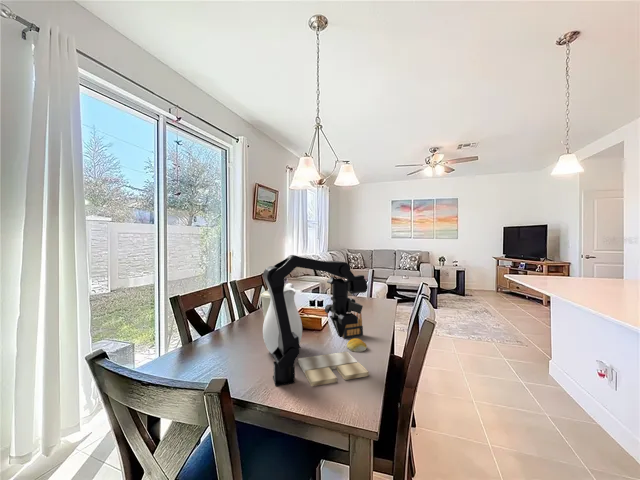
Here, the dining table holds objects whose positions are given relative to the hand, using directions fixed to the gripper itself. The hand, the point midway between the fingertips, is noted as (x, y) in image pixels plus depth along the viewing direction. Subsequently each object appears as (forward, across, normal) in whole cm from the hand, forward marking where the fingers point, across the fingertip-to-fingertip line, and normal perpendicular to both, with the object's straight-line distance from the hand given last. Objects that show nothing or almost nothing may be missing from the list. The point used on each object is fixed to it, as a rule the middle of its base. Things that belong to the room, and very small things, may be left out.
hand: (340, 336), depth 106 cm
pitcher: (+12, +26, +16) cm, 33 cm away
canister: (+12, +64, +14) cm, 67 cm away
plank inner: (+12, -5, +10) cm, 16 cm away
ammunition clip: (+12, +29, -18) cm, 36 cm away
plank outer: (+12, -5, -2) cm, 13 cm away
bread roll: (+12, +15, -14) cm, 24 cm away
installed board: (+12, +5, +4) cm, 13 cm away
